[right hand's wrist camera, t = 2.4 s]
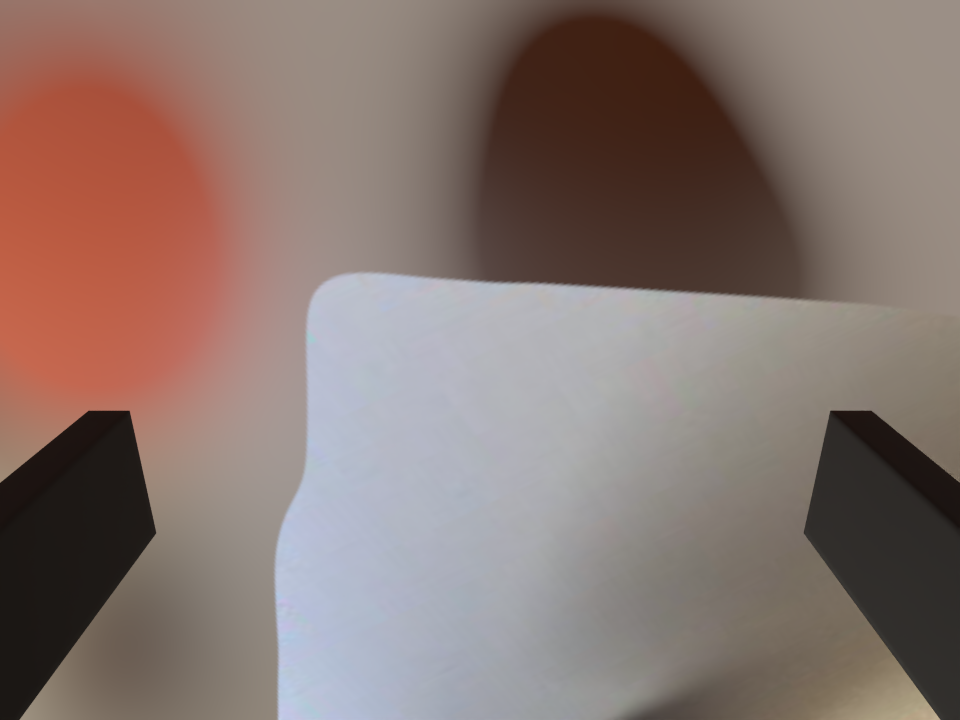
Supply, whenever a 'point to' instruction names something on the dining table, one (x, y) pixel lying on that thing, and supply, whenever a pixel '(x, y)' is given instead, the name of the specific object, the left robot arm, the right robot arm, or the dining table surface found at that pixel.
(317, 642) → the dining table surface
